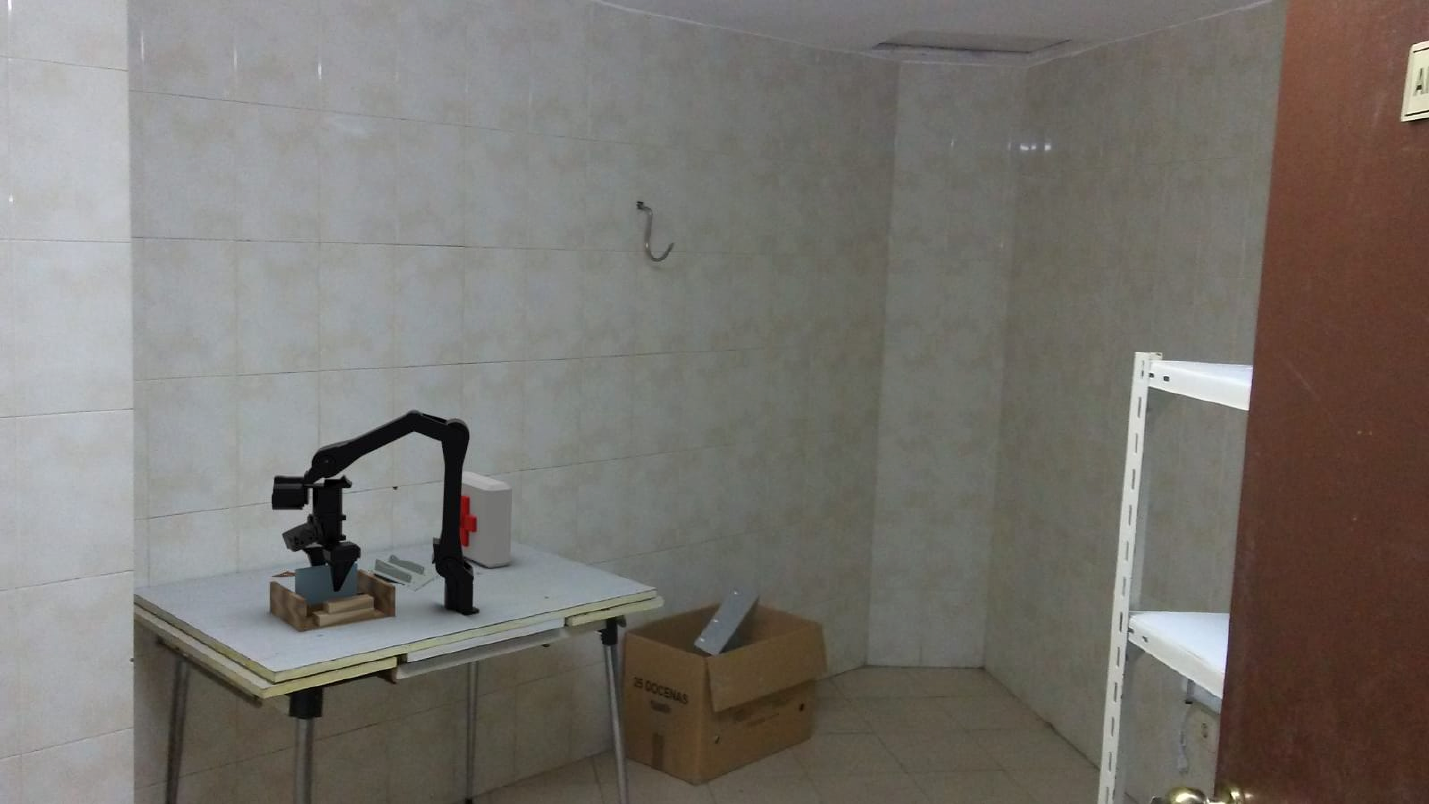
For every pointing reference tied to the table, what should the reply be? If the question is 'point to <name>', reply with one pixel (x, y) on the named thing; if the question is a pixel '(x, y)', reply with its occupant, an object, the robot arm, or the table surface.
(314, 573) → the panel
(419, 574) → the metal bracket
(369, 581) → the rack
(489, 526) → the bevelled white case
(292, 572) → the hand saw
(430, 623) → the table surface
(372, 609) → the lower offcut
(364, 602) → the upper offcut
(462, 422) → the robot arm
